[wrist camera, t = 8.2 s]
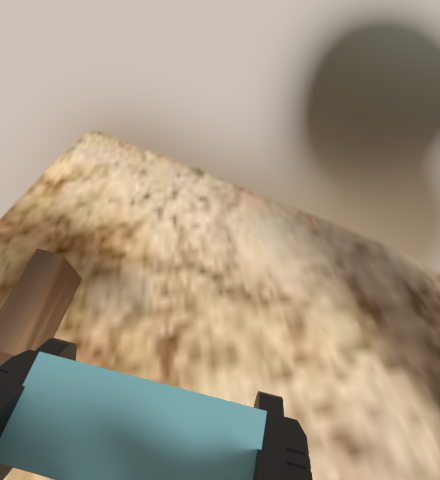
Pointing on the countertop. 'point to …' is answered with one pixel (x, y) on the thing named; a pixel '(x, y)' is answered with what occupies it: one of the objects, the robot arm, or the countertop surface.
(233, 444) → the teal notched bridge block
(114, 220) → the countertop surface
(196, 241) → the countertop surface
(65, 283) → the walnut slotted plate
